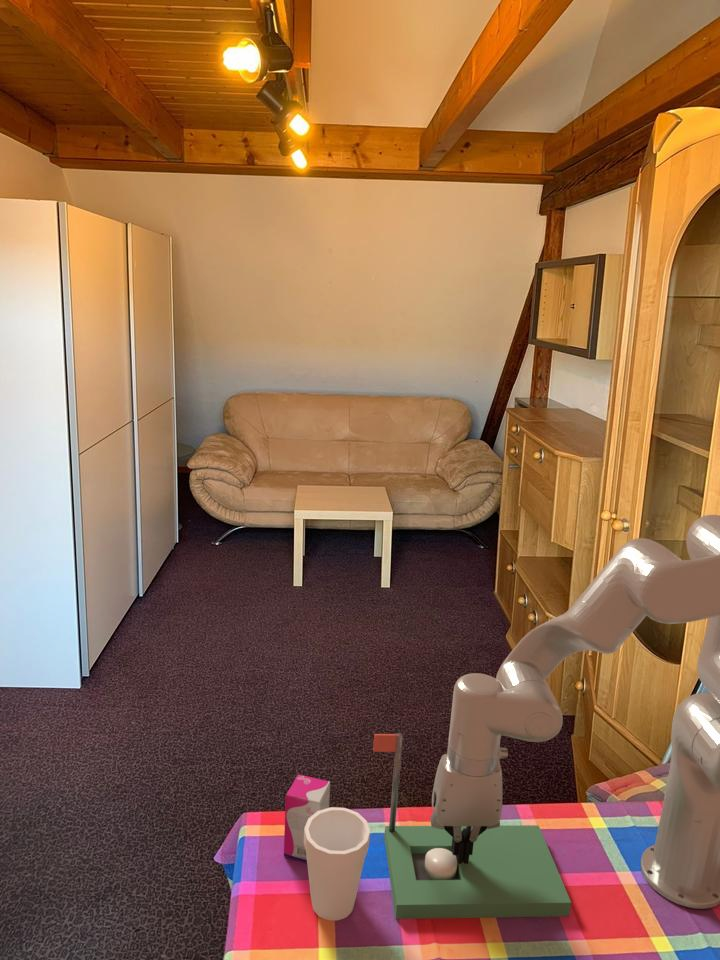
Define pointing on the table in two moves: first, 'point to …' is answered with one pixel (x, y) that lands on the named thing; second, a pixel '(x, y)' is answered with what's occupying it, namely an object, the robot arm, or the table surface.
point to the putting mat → (470, 868)
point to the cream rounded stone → (440, 864)
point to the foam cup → (335, 859)
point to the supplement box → (302, 812)
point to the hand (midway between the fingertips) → (461, 856)
